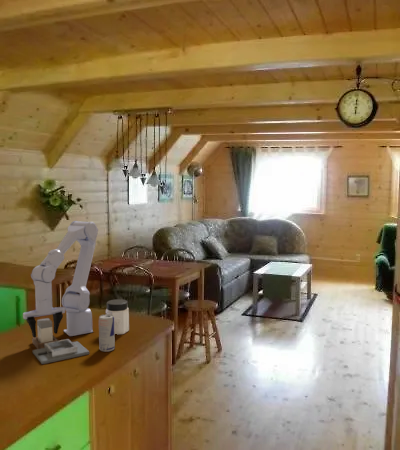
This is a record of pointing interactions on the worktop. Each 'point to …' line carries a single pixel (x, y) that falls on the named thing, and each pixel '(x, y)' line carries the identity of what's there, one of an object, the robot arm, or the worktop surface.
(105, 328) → the energy drink
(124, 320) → the jar
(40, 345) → the brown square tray
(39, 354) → the socket board
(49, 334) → the plug
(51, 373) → the worktop surface
